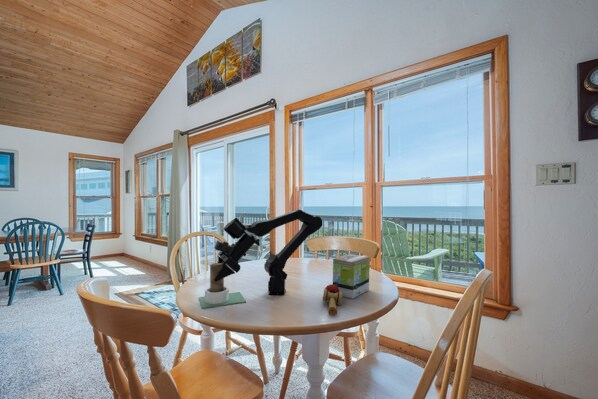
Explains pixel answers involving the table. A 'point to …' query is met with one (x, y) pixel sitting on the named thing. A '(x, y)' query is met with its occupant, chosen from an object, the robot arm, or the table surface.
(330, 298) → the kendama
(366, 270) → the tea box
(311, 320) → the table surface
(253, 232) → the robot arm
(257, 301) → the table surface
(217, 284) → the walnut peg
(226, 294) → the putting mat
